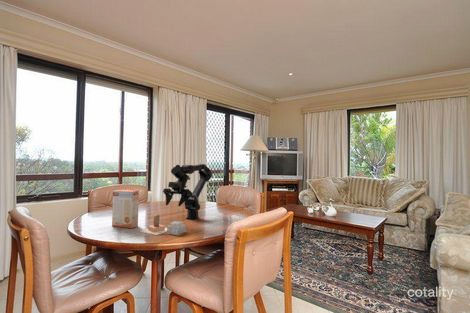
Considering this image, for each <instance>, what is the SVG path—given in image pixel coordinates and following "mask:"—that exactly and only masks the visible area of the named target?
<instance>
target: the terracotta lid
mask: <svg viewBox="0 0 470 313" xmlns="http://www.w3.org/2000/svg"><path fill="white" fill-rule="evenodd" d="M165 228H166V226H165V225H163V224H160V214H154V215H153V224H151V225H147V229H148V230H149V231H151V232H158V231H163V230H165Z"/></svg>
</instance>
